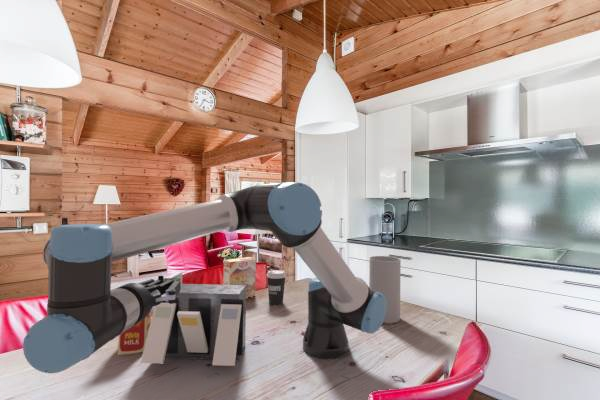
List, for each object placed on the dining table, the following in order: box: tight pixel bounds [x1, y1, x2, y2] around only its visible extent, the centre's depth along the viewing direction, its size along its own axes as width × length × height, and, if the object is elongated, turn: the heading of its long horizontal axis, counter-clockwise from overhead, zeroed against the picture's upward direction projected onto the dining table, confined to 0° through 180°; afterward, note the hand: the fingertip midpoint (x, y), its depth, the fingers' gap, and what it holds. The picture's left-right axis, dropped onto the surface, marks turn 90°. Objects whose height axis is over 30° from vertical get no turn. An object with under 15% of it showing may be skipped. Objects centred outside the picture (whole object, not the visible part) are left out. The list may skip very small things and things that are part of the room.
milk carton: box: [117, 310, 152, 356], centre depth 99 cm, size 9×9×20 cm
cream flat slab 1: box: [177, 311, 208, 353], centre depth 87 cm, size 1×6×16 cm, turn 87°
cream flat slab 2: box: [211, 304, 242, 367], centre depth 86 cm, size 1×6×16 cm, turn 89°
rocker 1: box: [140, 303, 176, 364], centre depth 87 cm, size 1×6×16 cm, turn 88°
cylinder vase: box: [368, 255, 402, 325], centre depth 126 cm, size 12×12×25 cm
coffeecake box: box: [222, 256, 257, 299], centre depth 151 cm, size 15×7×20 cm, turn 131°
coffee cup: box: [266, 269, 287, 306], centre depth 143 cm, size 10×10×15 cm
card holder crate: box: [161, 283, 247, 362], centre depth 96 cm, size 10×27×20 cm, turn 88°
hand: (179, 277), depth 77 cm, fingers closed
